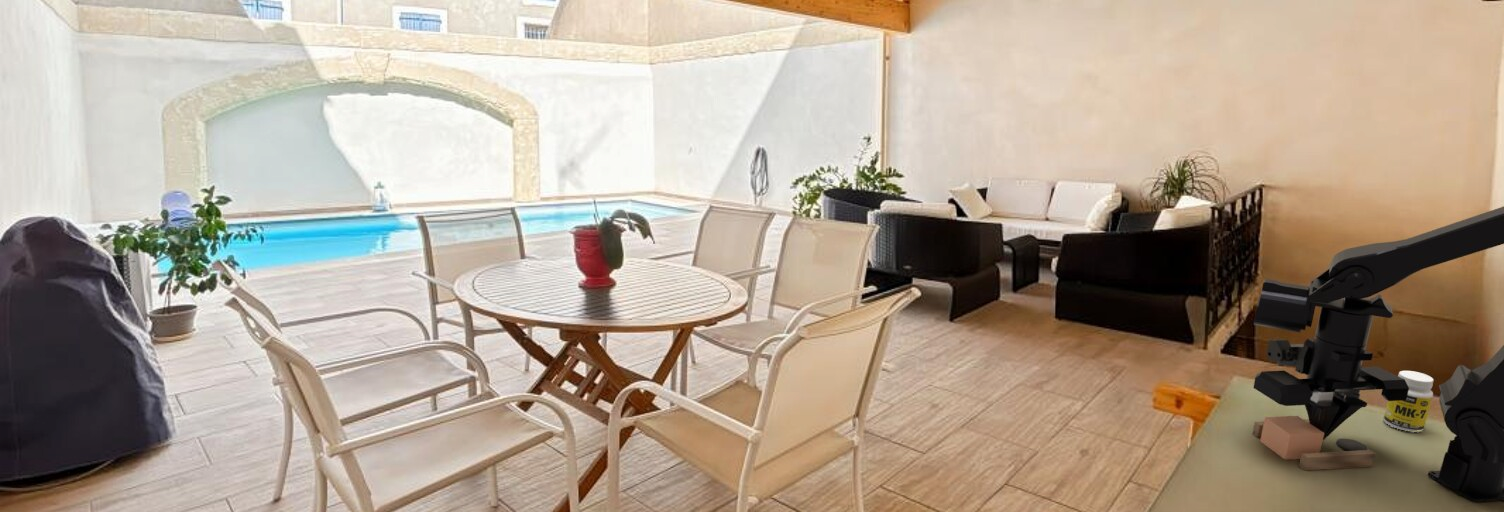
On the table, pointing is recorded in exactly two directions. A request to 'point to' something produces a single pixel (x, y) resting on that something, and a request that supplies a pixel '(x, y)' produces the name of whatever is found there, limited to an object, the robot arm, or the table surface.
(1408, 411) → the supplement bottle
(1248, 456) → the table surface
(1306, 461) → the channel
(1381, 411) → the table surface
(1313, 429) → the terracotta block
